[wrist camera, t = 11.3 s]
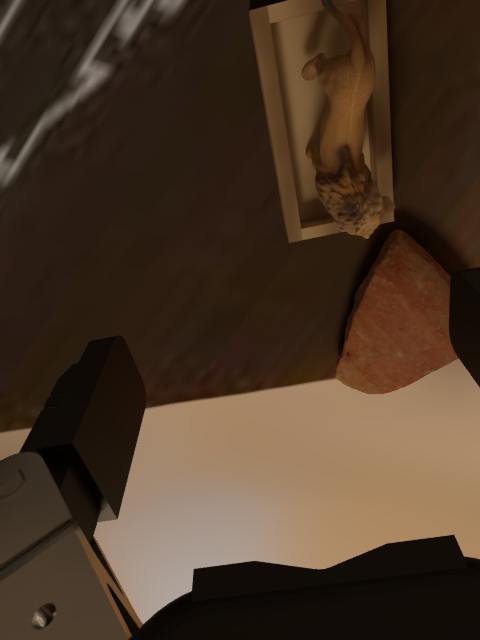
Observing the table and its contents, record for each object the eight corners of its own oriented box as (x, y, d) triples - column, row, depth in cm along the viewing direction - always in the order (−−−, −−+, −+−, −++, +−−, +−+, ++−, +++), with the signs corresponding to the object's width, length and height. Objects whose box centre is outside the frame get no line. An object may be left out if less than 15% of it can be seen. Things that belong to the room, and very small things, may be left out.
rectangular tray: (286, 231, 41) (289, 242, 39) (248, 13, 32) (249, 10, 30) (384, 210, 40) (394, 221, 38) (373, -20, 31) (384, -26, 29)
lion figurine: (370, 181, 39) (406, 237, 32) (309, 197, 39) (333, 255, 33) (357, -25, 29) (406, -4, 22) (277, 1, 29) (302, 29, 23)
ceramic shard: (288, 346, 42) (412, 228, 38) (281, 322, 48) (388, 218, 44) (389, 436, 45) (512, 336, 42) (371, 403, 52) (477, 313, 48)
